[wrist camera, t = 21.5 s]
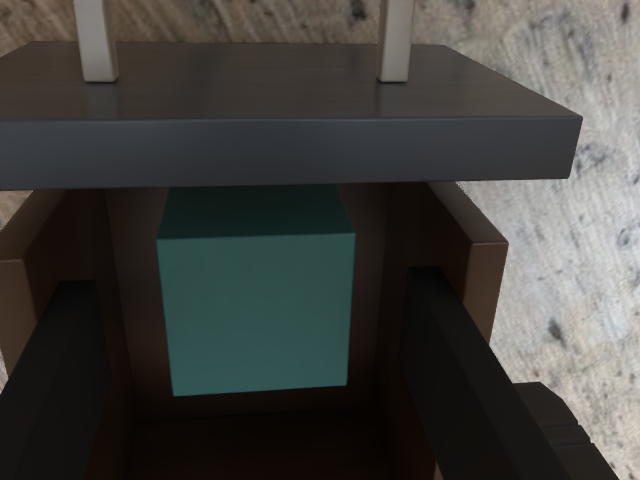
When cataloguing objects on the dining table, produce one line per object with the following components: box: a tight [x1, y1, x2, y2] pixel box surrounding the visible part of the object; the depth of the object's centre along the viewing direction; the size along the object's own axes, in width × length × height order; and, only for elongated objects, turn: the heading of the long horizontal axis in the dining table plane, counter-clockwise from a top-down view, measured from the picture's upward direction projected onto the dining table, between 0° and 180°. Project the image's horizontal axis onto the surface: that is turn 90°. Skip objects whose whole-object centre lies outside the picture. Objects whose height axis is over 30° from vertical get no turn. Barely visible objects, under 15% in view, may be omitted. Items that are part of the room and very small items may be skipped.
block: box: [155, 184, 356, 396], centre depth 16 cm, size 4×4×4 cm
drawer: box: [0, 0, 583, 480], centre depth 15 cm, size 21×12×8 cm, turn 178°
